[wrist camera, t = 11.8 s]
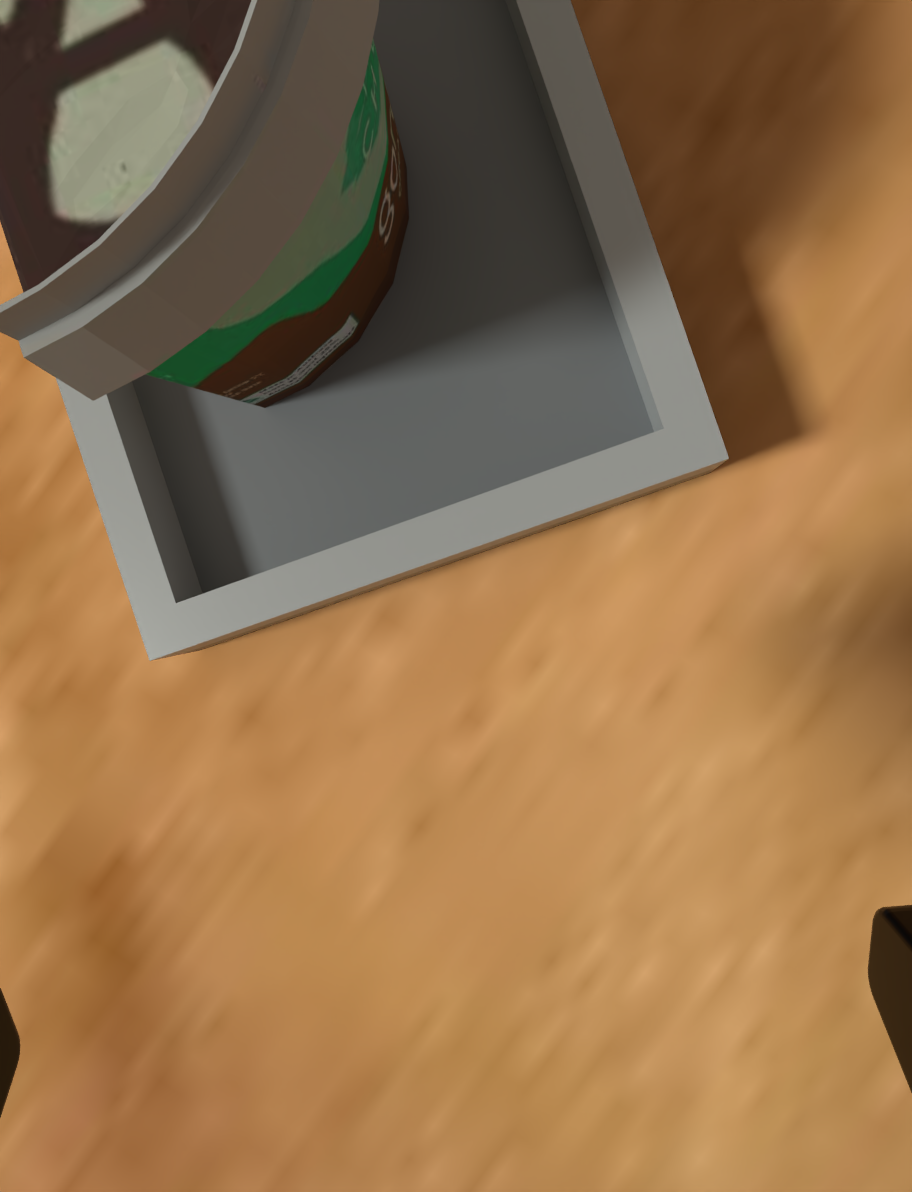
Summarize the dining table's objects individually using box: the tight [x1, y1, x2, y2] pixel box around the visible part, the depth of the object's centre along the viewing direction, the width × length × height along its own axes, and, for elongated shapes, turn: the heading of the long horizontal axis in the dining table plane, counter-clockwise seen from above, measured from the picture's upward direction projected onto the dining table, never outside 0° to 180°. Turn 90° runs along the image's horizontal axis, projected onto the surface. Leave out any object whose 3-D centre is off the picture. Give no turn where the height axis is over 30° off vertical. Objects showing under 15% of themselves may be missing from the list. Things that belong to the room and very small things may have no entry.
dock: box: [56, 0, 729, 661], centre depth 19 cm, size 13×19×2 cm
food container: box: [0, 0, 409, 408], centre depth 15 cm, size 12×6×10 cm, turn 19°
